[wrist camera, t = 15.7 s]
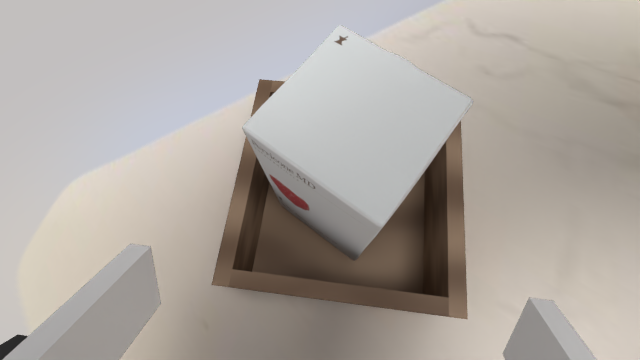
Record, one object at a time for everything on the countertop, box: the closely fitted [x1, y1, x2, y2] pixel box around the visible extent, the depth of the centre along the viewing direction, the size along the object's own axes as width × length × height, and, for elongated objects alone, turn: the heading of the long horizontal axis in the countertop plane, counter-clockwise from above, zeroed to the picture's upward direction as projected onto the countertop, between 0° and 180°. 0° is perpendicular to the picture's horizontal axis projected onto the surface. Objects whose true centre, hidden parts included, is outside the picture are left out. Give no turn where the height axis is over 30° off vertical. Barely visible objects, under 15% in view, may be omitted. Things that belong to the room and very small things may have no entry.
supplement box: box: [242, 25, 473, 261], centre depth 23 cm, size 9×9×15 cm
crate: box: [212, 79, 467, 319], centre depth 28 cm, size 17×17×7 cm
